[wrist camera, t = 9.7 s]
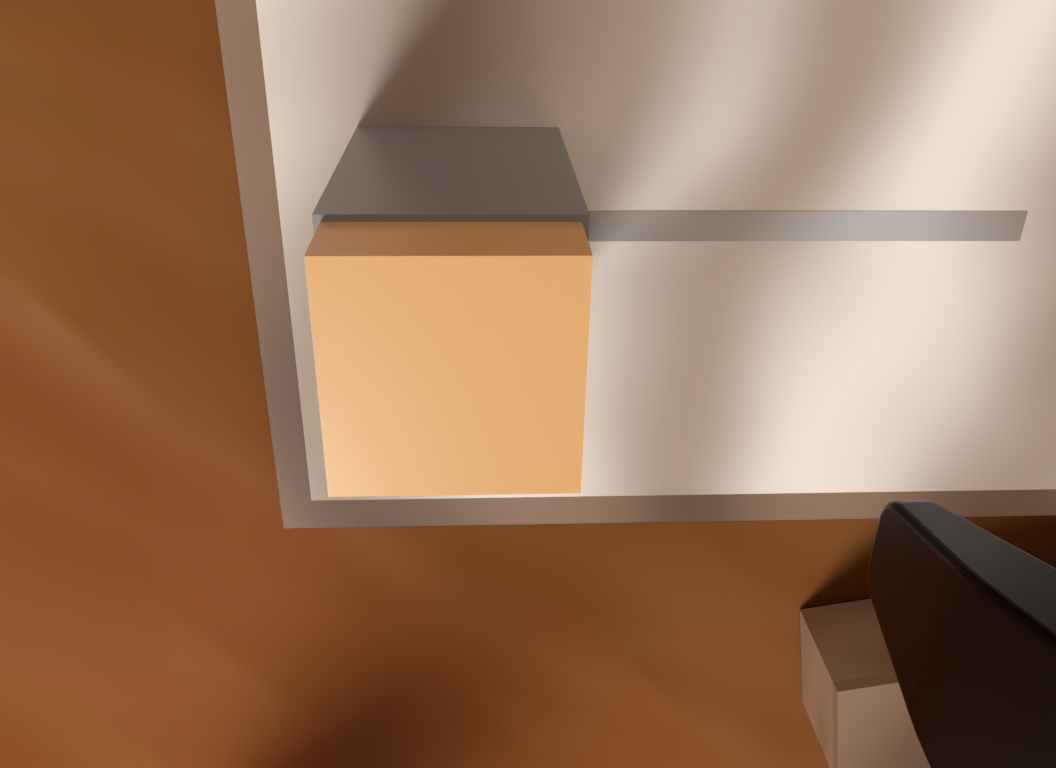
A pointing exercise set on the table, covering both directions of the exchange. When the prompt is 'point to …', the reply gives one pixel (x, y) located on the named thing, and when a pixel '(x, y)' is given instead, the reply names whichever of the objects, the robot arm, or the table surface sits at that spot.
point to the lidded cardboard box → (451, 313)
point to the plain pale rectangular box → (854, 690)
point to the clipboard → (709, 239)
